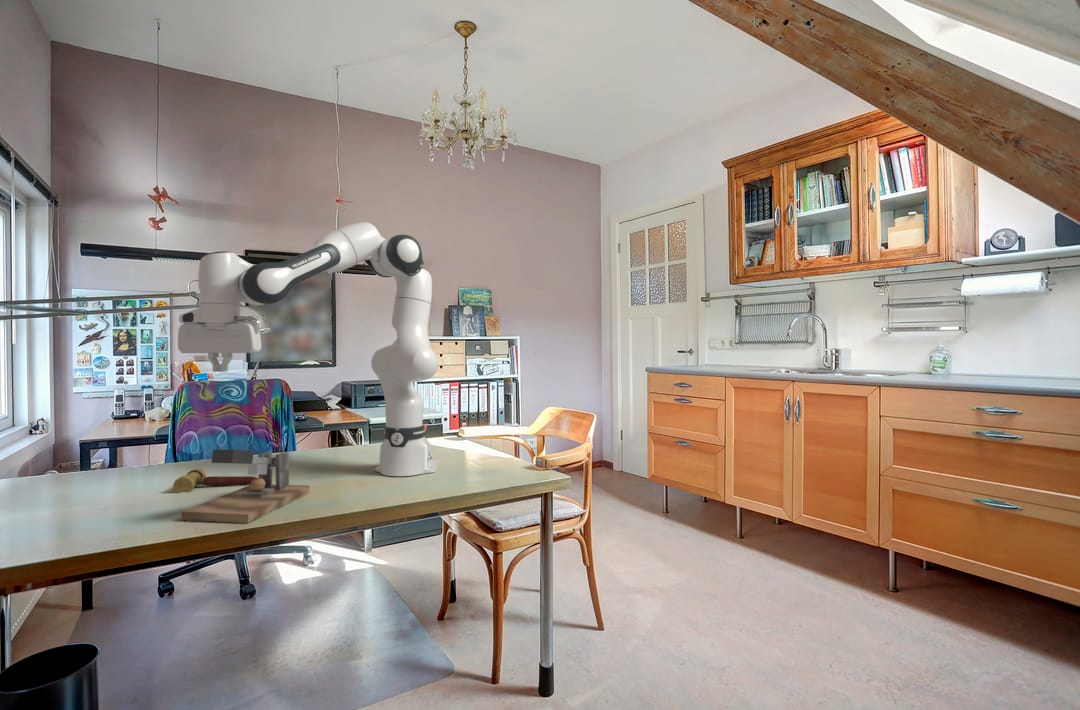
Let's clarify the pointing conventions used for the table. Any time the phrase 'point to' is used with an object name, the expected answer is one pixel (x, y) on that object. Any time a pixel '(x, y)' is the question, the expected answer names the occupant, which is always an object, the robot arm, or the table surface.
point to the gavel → (208, 480)
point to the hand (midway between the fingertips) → (220, 371)
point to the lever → (244, 460)
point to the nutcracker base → (251, 497)
